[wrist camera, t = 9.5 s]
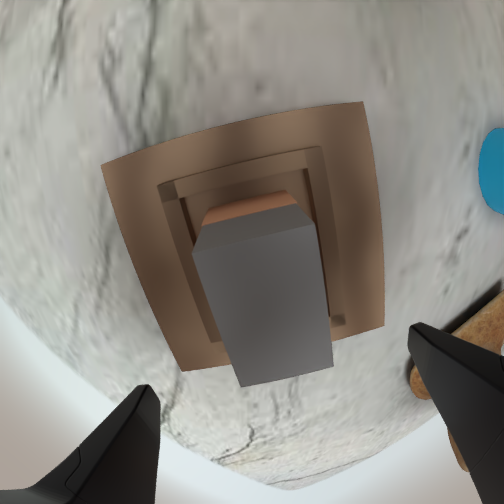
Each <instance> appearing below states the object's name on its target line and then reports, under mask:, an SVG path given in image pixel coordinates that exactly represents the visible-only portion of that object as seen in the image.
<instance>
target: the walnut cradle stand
mask: <svg viewBox="0 0 504 504" xmlns="http://www.w3.org/2000/svg"><path fill="white" fill-rule="evenodd" d="M101 169H102V172H103V176H104V179H105V183H106V186H107V190H108V193H109V196H110V199H111V203H112V206H113V209H114V212H115V215H116V218H117V221H118V224H119V227H120V230H121V233H122V235H123V238H124V241H125V244H126V247H127V249H128V252H129V255H130V257H131V260H132V263H133V265H134V268H135V270H136V273H137V275H138V278H139V280H140V283H141V285H142V287H143V290H144V292H145V295H146V297H147V299H148V302H149V304H150V306H151V308H152V311H153V313H154V315H155V317H156V320H157V322H158V324H159V326H160V328H161V330H162V333H163V335H164V337H165V339H166V341H167V343H168V345H169V347H170V349H171V351H172V353H173V355H174V357H175V359H176V361H177V363H178V365H179V367H180V369H181V371H182V372H184V371H191V370H198V369H205V368H212V367H218V366H224V365H229V364H231V361H230V359H229V356H228V354H227V351H226V349H225V346H224V343H223V341H222V338H221V335H220V333H219V330H218V327H217V325H216V322H215V319H214V317H213V314H212V311H211V308H210V306H209V303H208V300H207V297H206V294H205V292H204V289H203V286H202V283H201V280H200V277H199V274H198V271H197V268H196V265H195V262H194V259H193V256H192V251H193V248H194V246H195V243H196V241H197V238H198V236H199V233H200V231H201V229H202V226H201V225H202V222H203V220H204V218H205V215H206V213H207V211H208V208H212V207H216V206H220V205H224V204H228V203H232V202H236V201H240V200H244V199H248V198H252V197H256V196H260V195H264V194H269V193H273V192H277V191H282V190H286V191H287V192H288V193H289V194H290V195H291V196H292V197H293V198H294V199H295V200H296V201H297V205H298V206H299V207H300V208H301V209H302V210H303V211H304V212H305V213H306V215H307V216H308V217H309V218H310V219H311V220H312V221H313V222H314V223H315V227H316V233H317V239H318V245H319V252H320V258H321V265H322V271H323V278H324V285H325V293H326V300H327V308H328V316H329V325H330V334H331V342H332V341H336V340H339V339H343V338H346V337H350V336H353V335H356V334H360V333H363V332H366V331H370V330H373V329H376V328H379V327H382V326H384V317H385V282H384V253H383V236H382V223H381V212H380V202H379V193H378V185H377V177H376V170H375V163H374V157H373V150H372V145H371V139H370V133H369V128H368V123H367V118H366V113H365V109H364V104H363V102H352V103H343V104H334V105H326V106H319V107H312V108H305V109H299V110H293V111H287V112H282V113H276V114H271V115H266V116H261V117H256V118H252V119H247V120H243V121H238V122H234V123H230V124H226V125H222V126H218V127H214V128H210V129H207V130H203V131H199V132H196V133H192V134H189V135H185V136H182V137H179V138H175V139H172V140H169V141H166V142H163V143H160V144H157V145H154V146H151V147H148V148H145V149H142V150H139V151H136V152H134V153H131V154H128V155H125V156H123V157H120V158H117V159H115V160H112V161H110V162H107V163H105V164H102V165H101Z"/></svg>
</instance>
